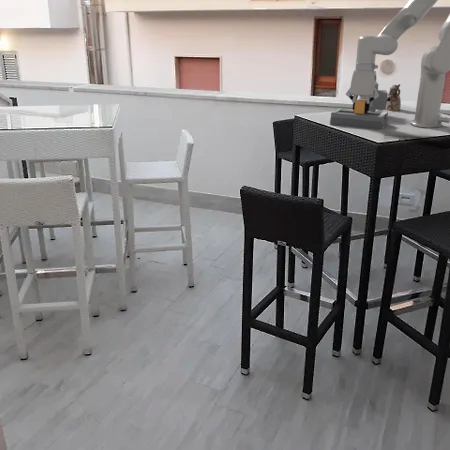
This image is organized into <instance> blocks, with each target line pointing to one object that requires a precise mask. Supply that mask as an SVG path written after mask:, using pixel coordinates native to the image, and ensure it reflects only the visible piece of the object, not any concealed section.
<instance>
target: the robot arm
mask: <svg viewBox="0 0 450 450" xmlns="http://www.w3.org/2000/svg"><path fill="white" fill-rule="evenodd" d="M438 1H439V0H408V1H407V3H406V4H405V5H404V7H402V9H400V10H399V12H397V14H396V15H395V16H394V17H393V18H392V19H391V20H390V21H389V22H388V23H387V24H386V25H385V27H384V28H383V29H382V31H380V33H378V35H377V36H375V35H361V36H359V37H358V40H357V49H356V57H355V58H356V59H355V60H356V61H355V70H353V72H352V77H351V80H350V86H349V88H348V90H347V91H346V93H345V96H347V97H348V98H349V100H351V102H352V110H354V109H355V101H357V100H358V99H359V98H358V97H360V96H366V101H367V102H366V104H365V112H364V113H367V112H368V111H369V107H370V102H371V101H373V100H374V99H376V98H377V97H379V94H378V92H377V90H376V82H377V72H376V69H377V70H378V69H379V65H378V64H376V63H375V62H376V57H377V56H376V55H380V56H381V55H382V56H390V55H392V54H394V53H395V52H396V51H397V49H398V46H399V43H398V40H399V39H400V37H401V36H402V35H403V34H404V33H405V32H407V31H408V30H409V29H411V28H412V27H414V26H415V25H417V24H418V23H419V22H421V21H422V20H423V18H424V17H425V16H426V15H427V14H428V12H429V11H430V10H431V9H432V8H433V6H434V5H435V4H436V3H437V2H438ZM438 39H439V44H438V46H437V45H436V46H432V47H429V48H428V49H426V51H424V52H423V55H422V56H421V62H420V78H419V84H418V85H419V87H418V92H417V100H416V107H415V114H414V119H411V120H410V122H409V124H410V125H411V126H413V127H417V128H425V129H427V128H430V129H432V128H433V129H434V128H439V127H442V126H443V125H442V124H443V123H447V124H450V117H447V116H446V117H445V116H444V117H442V116H441V114H442V113H440V112H441V106H442V100H443V93H444V88H445V82H446V74H447V73H448V72H450V13H449V14H448V16H447V17H446V20H444V23H443V24H442V26H441V27H440V29H439V31H438ZM374 94H375V96H373V97H372V98H371V96H372V95H374Z"/></svg>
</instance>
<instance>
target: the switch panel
mask: <svg viewBox="0 0 450 450" xmlns="http://www.w3.org/2000/svg"><path fill="white" fill-rule="evenodd" d="M388 117H389V112H387V111H383V112H380V111H375V112H371V111H368V112H367V113H365V114H356V113H354V110H353V109H345V108H344V109H343V108H341V107H338V108H337V109H335V110H333V111H332V112H330V120H329V121H330V122H329V125H330V126H341V127H351V128H361V129H374V130H380V129H381V130H383V129H384V128H385V127H386V126H387V124H388V121H389V119H388ZM384 126H385V127H384ZM383 127H384V128H383Z"/></svg>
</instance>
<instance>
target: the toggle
mask: <svg viewBox="0 0 450 450" xmlns="http://www.w3.org/2000/svg"><path fill="white" fill-rule="evenodd" d="M366 102H367V101H366V99H359V98H357V101H355V109H354V113H356V114H365V113H364V112H365V104H366Z"/></svg>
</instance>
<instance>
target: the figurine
mask: <svg viewBox="0 0 450 450" xmlns="http://www.w3.org/2000/svg"><path fill="white" fill-rule="evenodd" d="M400 87H401V84H400V83H399V84H392V85H391V86H390V87H389V91H388V94H387V95H388V98H390V101H387V104H386V110H385V111H390V112H398V111H400V110H401V106H402V104H401V103H402V102H401V89H400ZM397 110H398V111H397Z"/></svg>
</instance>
